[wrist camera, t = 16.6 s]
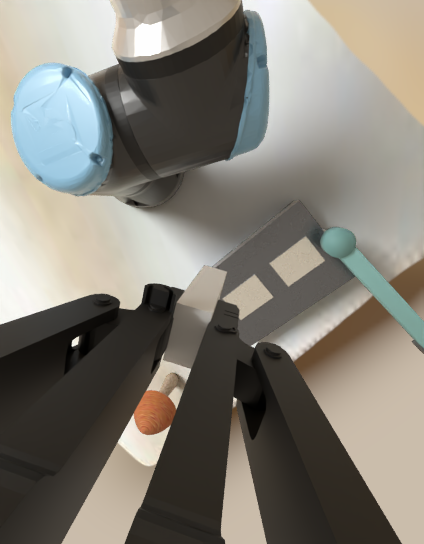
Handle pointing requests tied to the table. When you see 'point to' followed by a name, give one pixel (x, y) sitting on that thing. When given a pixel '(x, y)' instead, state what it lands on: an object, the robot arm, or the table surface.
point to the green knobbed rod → (373, 281)
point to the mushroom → (156, 408)
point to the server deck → (279, 272)
